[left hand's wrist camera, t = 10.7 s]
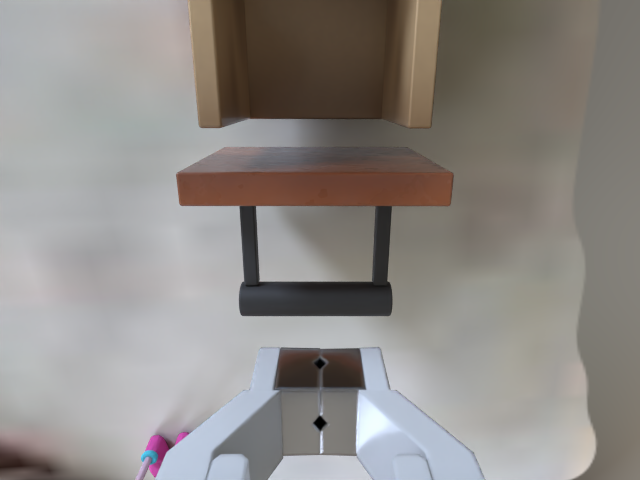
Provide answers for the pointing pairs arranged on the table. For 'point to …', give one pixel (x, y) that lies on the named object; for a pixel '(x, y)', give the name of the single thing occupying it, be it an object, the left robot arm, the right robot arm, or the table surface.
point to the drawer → (315, 103)
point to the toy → (155, 455)
